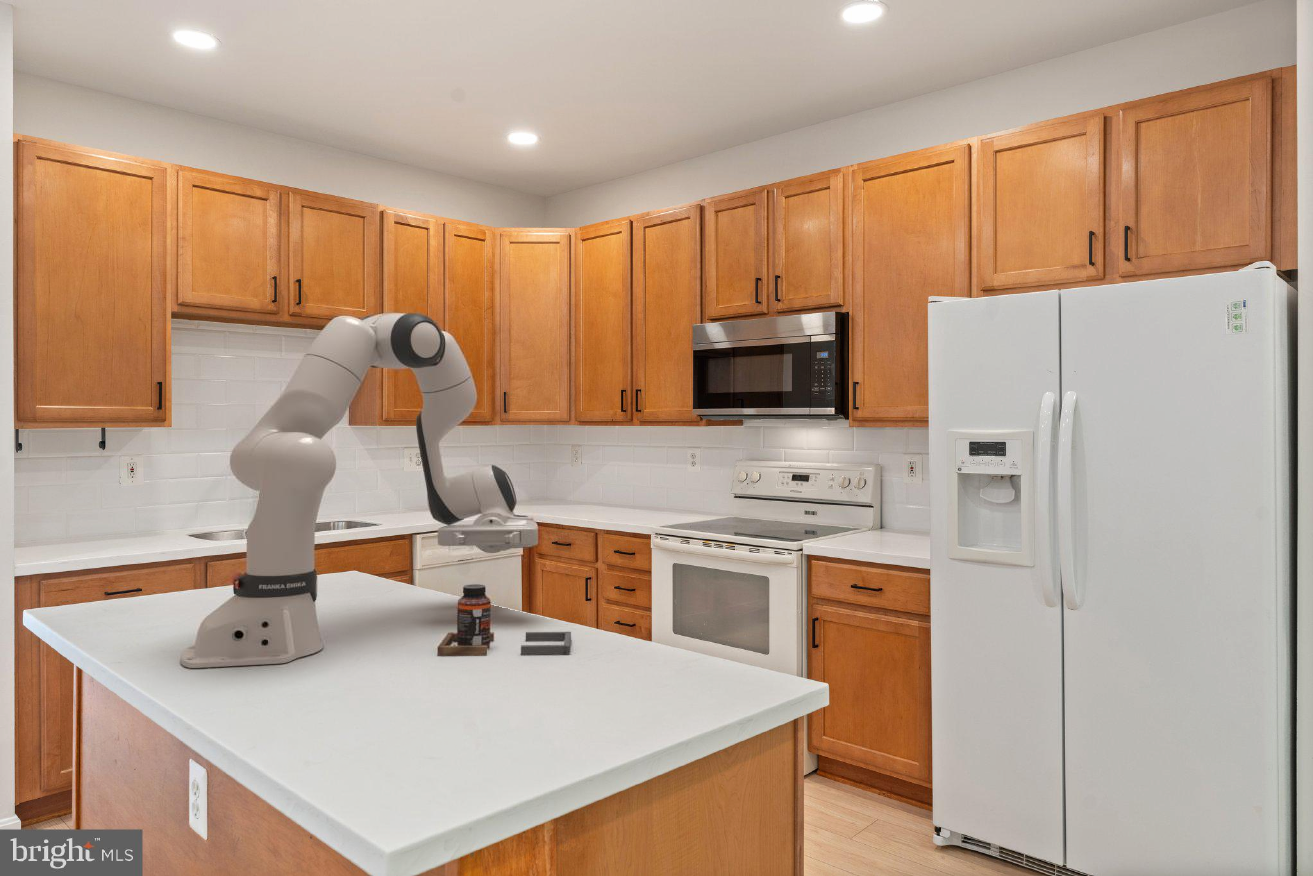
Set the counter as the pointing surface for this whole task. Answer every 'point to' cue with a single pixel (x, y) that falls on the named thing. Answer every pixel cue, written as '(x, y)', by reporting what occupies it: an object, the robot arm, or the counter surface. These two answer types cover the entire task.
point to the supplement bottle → (473, 617)
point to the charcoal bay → (547, 648)
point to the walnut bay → (460, 647)
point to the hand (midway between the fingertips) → (484, 540)
